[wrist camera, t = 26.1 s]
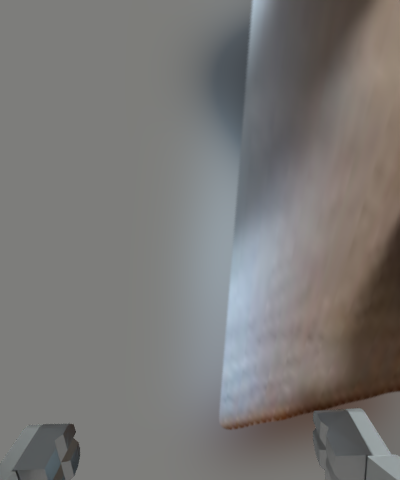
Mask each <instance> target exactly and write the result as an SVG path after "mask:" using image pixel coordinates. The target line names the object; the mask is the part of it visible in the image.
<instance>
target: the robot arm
mask: <svg viewBox="0 0 400 480" xmlns="http://www.w3.org/2000/svg"><path fill="white" fill-rule="evenodd" d="M313 421H314V424H315V427H316V428H315V430H314V431H313V442H314V448H315V452H316V456H317V459H318V462H319V465H320V466H321V467H322V468H323V469H324V470H325V480H400V457H399V456H398V455H392V454H391V453H390V451H389V450H388V448H387V446H386V445H385V443H384V442H383V440H382V439H381V437H380V435H379V434H378V432H377V431H376V429H375V427H374V426H373V424H372V423H371V421H370V420H369V418H368V416H367V415H366V413H365V411H364V410H362V409H361V408H355V409H345V410H344V409H338V410H322V411H314V413H313ZM75 433H76V431H75V427H74V425H73V424H43V425H29V426H27V427H26V428H25V429H24V430H23V431H22V433H21V434H20V436H19V437H18V439H17V440H16V442H15V443H14V444H13V446H12V447H11V449H10V450H9V452H8V453H7V455H6V456H5V457H4V459H3V460H2V462H1V463H0V480H71V479H72V478H73V477H74V475H75V473H76V470H77V468H78V464H79V459H80V447H79V443H78V442H77V441H76V440H75V439H74V438H73V437H74V435H75Z"/></svg>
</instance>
